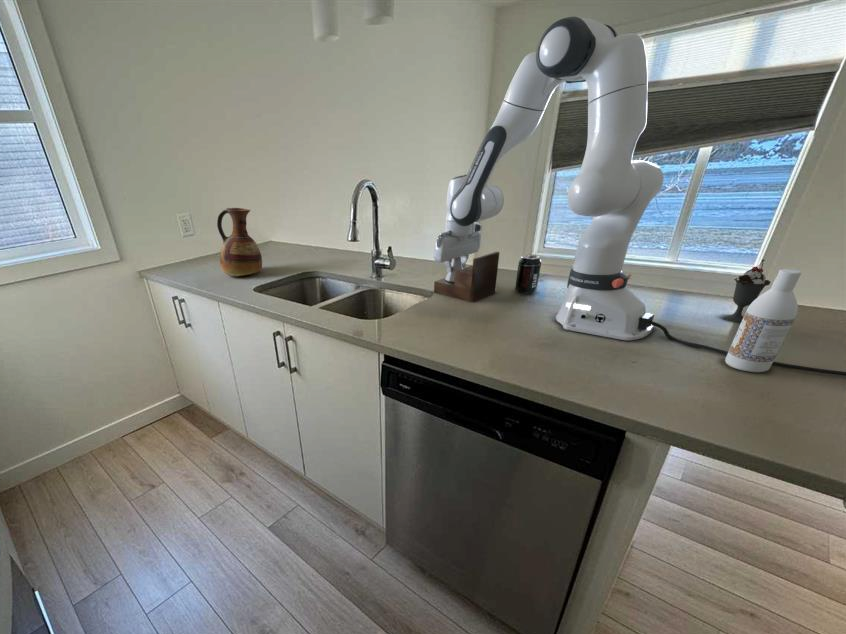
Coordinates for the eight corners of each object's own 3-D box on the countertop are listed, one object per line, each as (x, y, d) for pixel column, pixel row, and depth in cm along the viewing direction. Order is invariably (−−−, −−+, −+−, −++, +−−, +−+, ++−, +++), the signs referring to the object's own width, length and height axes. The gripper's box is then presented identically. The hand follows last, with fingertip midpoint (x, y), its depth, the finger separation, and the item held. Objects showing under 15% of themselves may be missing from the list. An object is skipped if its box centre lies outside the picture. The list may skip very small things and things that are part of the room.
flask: (463, 276, 146) (466, 248, 141) (467, 281, 140) (470, 252, 135) (443, 277, 147) (445, 249, 142) (446, 283, 141) (448, 253, 136)
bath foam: (724, 355, 89) (763, 265, 79) (767, 363, 85) (815, 268, 75) (723, 368, 85) (765, 273, 75) (769, 376, 81) (820, 277, 71)
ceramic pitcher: (260, 277, 186) (248, 208, 171) (218, 281, 187) (202, 212, 172) (267, 267, 203) (256, 203, 188) (228, 271, 204) (214, 207, 189)
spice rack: (494, 293, 139) (499, 251, 132) (472, 301, 133) (476, 259, 127) (455, 284, 152) (458, 246, 145) (433, 292, 146) (435, 252, 139)
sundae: (747, 315, 106) (772, 257, 99) (757, 324, 101) (784, 264, 94) (715, 313, 109) (737, 257, 102) (723, 322, 104) (747, 263, 97)
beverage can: (539, 294, 134) (546, 257, 128) (518, 296, 135) (524, 259, 129) (531, 288, 140) (537, 253, 134) (511, 290, 141) (516, 255, 135)
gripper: (445, 234, 128) (443, 277, 135) (485, 224, 137) (481, 265, 144) (430, 233, 132) (428, 274, 139) (470, 223, 142) (467, 262, 149)
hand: (456, 269), depth 142 cm, fingers closed on flask, 5 cm apart
